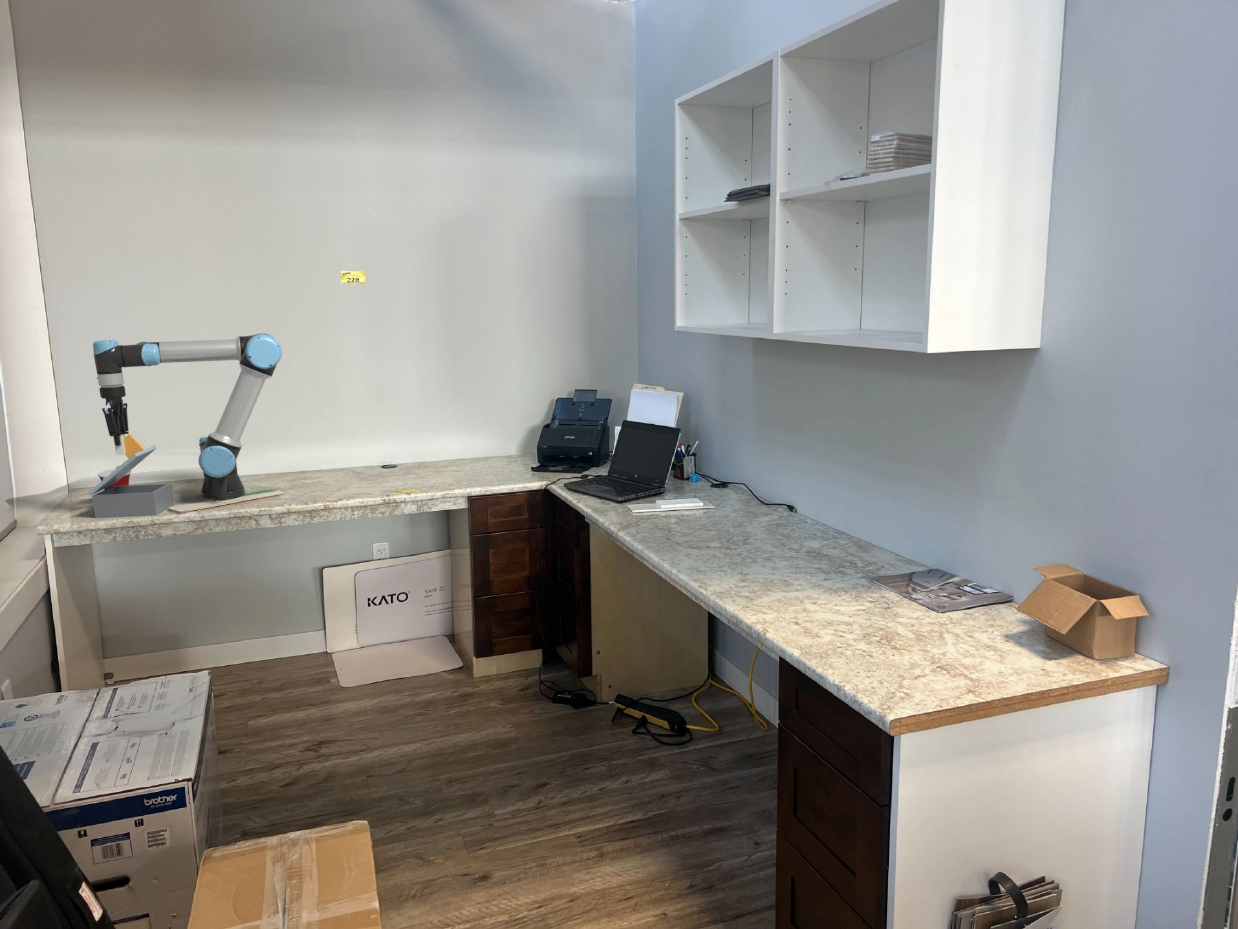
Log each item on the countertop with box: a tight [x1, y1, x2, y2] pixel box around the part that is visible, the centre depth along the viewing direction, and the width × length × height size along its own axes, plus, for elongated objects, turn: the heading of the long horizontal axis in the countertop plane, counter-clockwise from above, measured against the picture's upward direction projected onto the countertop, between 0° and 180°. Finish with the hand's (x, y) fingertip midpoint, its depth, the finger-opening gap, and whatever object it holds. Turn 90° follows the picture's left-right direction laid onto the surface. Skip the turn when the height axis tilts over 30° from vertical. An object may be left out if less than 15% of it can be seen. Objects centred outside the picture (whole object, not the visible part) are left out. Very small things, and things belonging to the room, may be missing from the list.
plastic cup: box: [97, 468, 132, 490], centre depth 321 cm, size 11×11×12 cm
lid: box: [87, 433, 158, 496], centre depth 301 cm, size 22×16×8 cm
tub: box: [91, 482, 175, 519], centre depth 305 cm, size 20×15×9 cm
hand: (122, 453), depth 301 cm, fingers closed on lid, 2 cm apart
